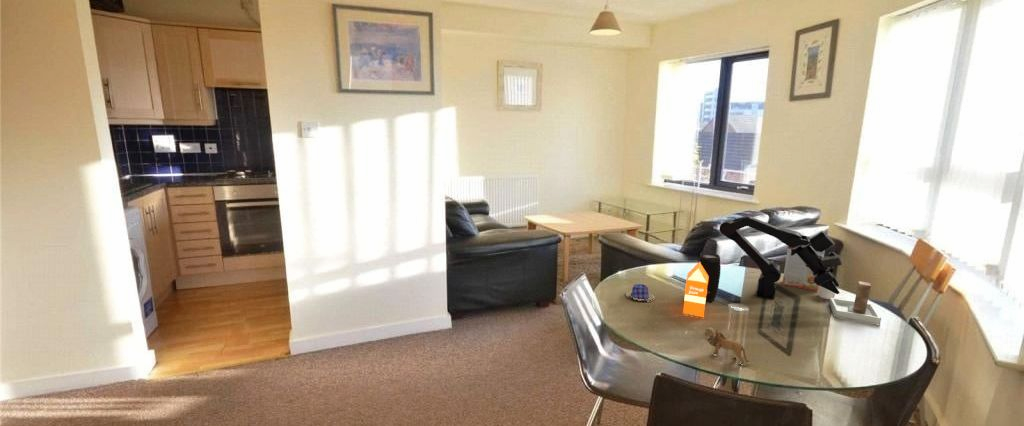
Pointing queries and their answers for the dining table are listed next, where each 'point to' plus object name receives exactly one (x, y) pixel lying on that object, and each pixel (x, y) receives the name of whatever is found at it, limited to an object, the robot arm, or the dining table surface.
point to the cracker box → (799, 272)
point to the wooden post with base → (861, 299)
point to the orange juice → (696, 291)
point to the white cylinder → (825, 293)
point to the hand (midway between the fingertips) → (838, 289)
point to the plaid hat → (640, 292)
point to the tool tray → (843, 312)
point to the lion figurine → (724, 343)
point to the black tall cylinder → (711, 273)
